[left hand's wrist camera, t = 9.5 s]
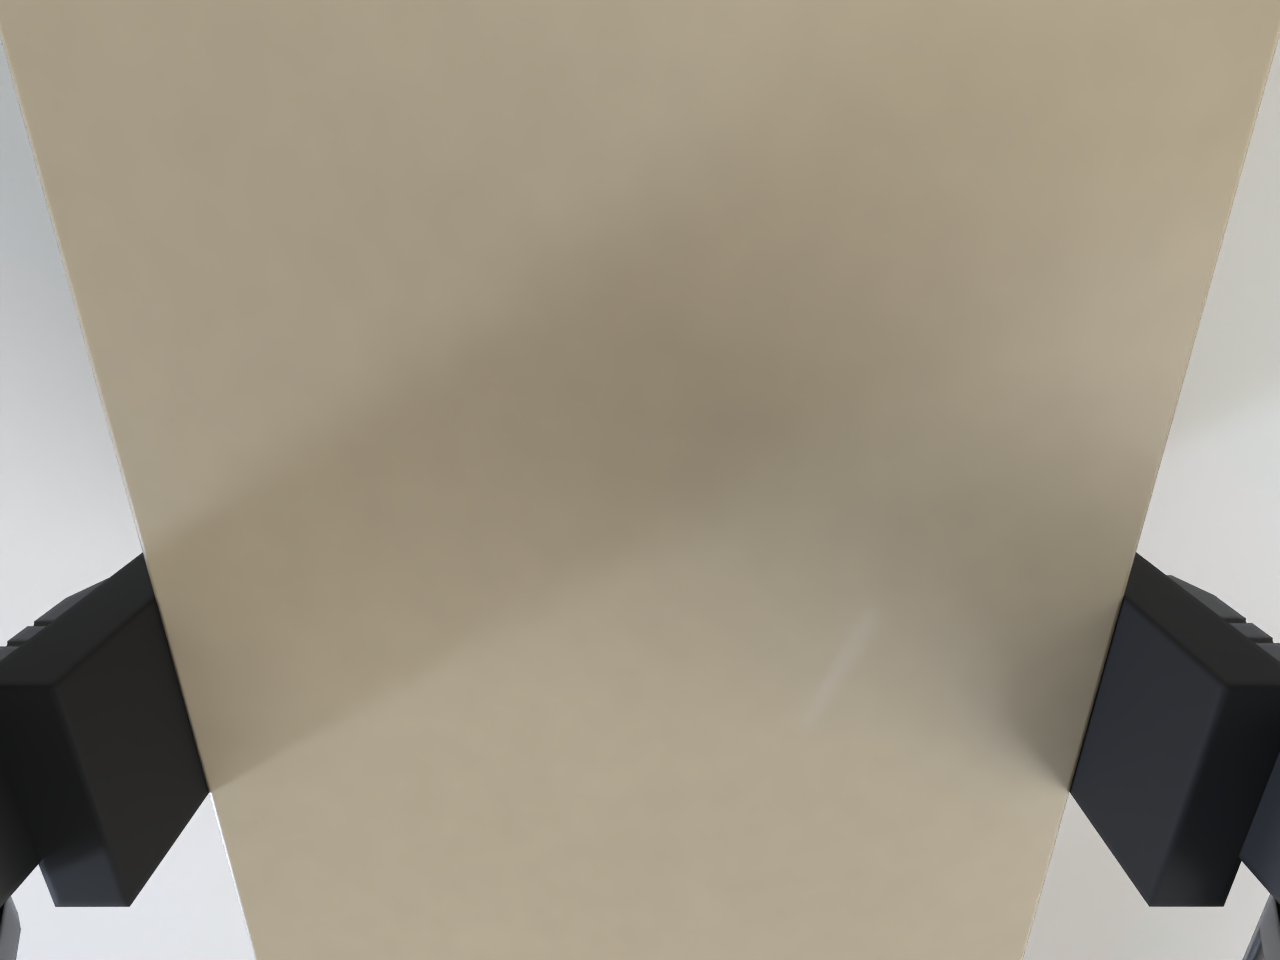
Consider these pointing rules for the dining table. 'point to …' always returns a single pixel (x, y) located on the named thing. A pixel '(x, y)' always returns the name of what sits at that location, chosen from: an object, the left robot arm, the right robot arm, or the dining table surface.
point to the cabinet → (639, 438)
